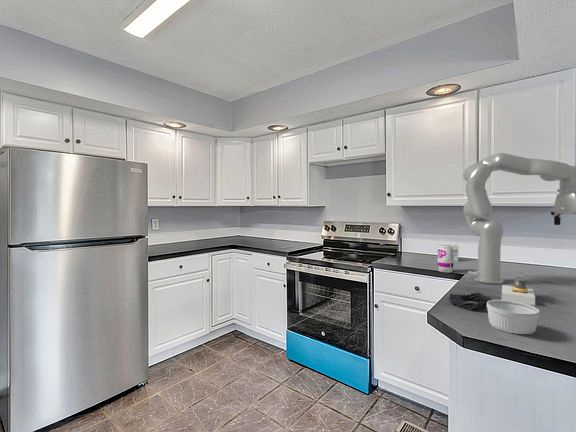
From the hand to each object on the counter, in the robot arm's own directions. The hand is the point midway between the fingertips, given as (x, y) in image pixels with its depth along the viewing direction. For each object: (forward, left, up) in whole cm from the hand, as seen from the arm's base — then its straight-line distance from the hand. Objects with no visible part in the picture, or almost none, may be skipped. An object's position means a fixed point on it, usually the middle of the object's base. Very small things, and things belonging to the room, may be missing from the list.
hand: (567, 225), depth 152 cm
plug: (-20, -47, -29) cm, 59 cm away
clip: (-20, -45, -21) cm, 54 cm away
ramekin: (-23, -88, -29) cm, 95 cm away
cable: (-36, -69, -30) cm, 83 cm away
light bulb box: (-58, +40, -29) cm, 76 cm away
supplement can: (-54, -5, -29) cm, 61 cm away
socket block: (-20, -47, -29) cm, 59 cm away
